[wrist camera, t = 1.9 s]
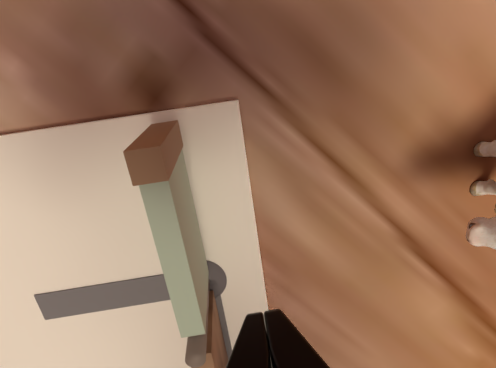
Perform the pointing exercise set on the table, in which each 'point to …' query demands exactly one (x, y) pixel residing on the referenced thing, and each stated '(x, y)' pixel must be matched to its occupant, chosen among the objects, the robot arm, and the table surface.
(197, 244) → the swing panel
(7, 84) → the table surface
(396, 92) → the table surface
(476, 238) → the bull figurine
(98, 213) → the card
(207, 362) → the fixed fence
